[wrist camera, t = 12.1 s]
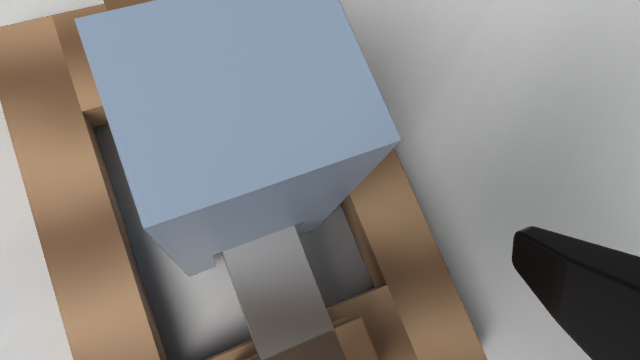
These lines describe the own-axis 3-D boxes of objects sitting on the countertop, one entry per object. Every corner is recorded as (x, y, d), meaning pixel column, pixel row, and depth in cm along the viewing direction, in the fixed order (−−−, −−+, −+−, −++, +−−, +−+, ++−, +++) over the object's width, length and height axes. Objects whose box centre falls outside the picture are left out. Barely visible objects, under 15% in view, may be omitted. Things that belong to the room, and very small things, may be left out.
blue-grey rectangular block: (277, 132, 24) (321, -38, 13) (316, 228, 23) (401, 139, 12) (153, 171, 22) (74, 18, 11) (188, 276, 21) (143, 228, 10)
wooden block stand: (469, 363, 24) (536, 375, 19) (136, 526, 20) (103, 600, 15) (304, -18, 28) (321, -95, 23) (0, 53, 24) (-64, -20, 19)
